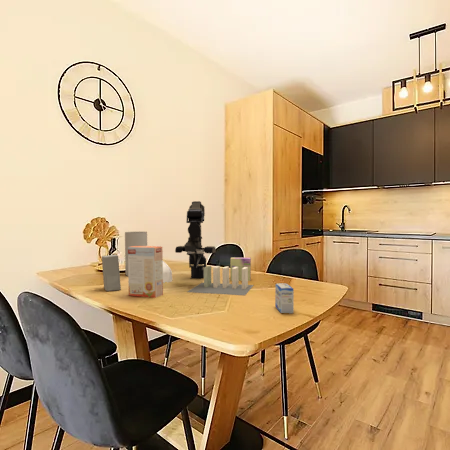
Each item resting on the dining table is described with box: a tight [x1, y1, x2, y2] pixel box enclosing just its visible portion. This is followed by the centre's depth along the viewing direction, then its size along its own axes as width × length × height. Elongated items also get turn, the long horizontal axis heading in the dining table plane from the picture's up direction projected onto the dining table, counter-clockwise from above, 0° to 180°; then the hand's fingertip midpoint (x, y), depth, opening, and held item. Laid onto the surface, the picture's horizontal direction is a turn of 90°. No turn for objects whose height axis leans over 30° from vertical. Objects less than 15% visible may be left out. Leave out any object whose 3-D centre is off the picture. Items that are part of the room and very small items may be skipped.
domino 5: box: [241, 267, 249, 289], centre depth 139 cm, size 2×6×9 cm, turn 164°
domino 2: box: [212, 265, 221, 288], centre depth 143 cm, size 2×6×9 cm, turn 166°
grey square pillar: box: [124, 231, 148, 277], centre depth 178 cm, size 12×12×25 cm
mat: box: [186, 282, 254, 296], centre depth 138 cm, size 26×20×1 cm
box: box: [229, 257, 252, 282], centre depth 158 cm, size 10×6×12 cm, turn 84°
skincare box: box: [101, 254, 122, 292], centre depth 141 cm, size 8×7×16 cm
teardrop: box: [163, 260, 173, 284], centre depth 159 cm, size 11×11×12 cm
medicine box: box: [274, 282, 295, 314], centre depth 106 cm, size 8×4×9 cm, turn 5°
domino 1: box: [203, 265, 212, 287], centre depth 144 cm, size 2×6×9 cm, turn 164°
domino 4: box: [231, 267, 240, 289], centre depth 141 cm, size 2×6×9 cm, turn 164°
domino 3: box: [221, 265, 230, 288], centre depth 142 cm, size 2×6×9 cm, turn 164°
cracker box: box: [127, 245, 164, 299], centre depth 128 cm, size 14×6×21 cm, turn 65°
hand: (195, 267), depth 146 cm, fingers closed
